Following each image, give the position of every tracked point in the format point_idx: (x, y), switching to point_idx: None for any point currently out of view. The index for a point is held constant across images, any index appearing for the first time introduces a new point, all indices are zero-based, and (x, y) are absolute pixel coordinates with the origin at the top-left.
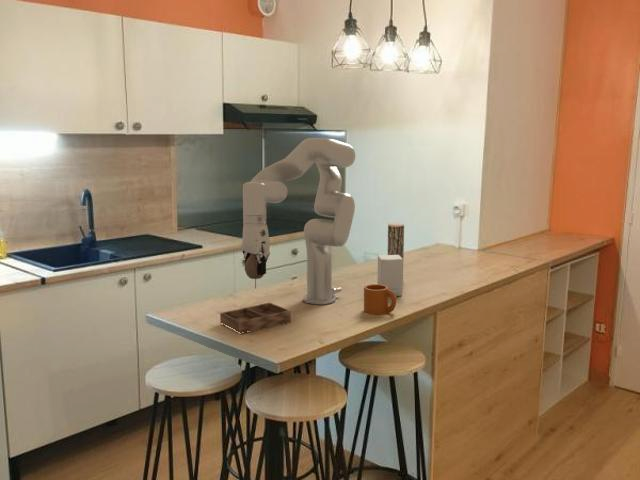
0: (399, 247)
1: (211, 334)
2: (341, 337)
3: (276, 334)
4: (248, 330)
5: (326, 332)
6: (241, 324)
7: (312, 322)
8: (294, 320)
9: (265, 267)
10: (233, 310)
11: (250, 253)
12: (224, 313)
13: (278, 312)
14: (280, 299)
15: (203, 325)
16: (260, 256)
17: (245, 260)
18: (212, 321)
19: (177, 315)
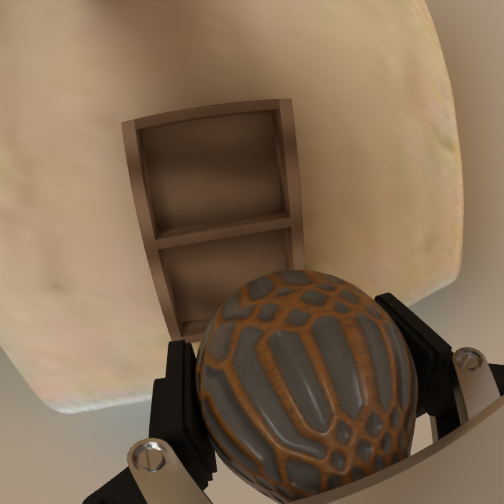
0: None
1: None
2: (446, 85)
3: (354, 208)
4: None
5: (409, 83)
6: None
7: (319, 50)
8: (267, 83)
9: (418, 323)
10: (161, 300)
11: (165, 501)
12: (180, 334)
13: (210, 117)
14: (20, 46)
15: (163, 359)
16: (410, 432)
17: (211, 472)
18: (136, 331)
19: (62, 378)
